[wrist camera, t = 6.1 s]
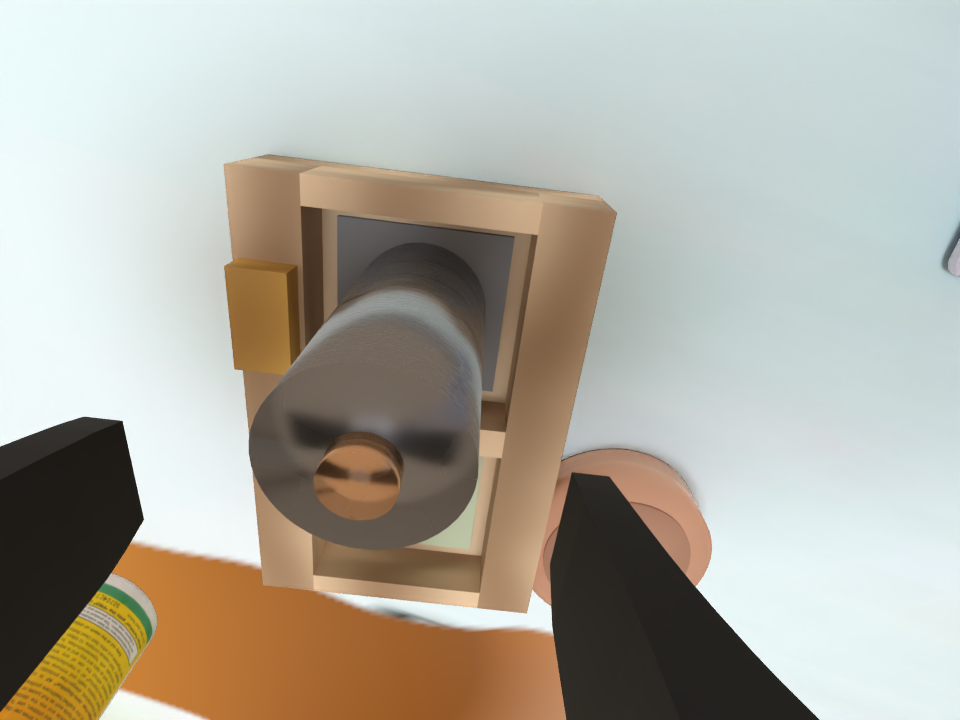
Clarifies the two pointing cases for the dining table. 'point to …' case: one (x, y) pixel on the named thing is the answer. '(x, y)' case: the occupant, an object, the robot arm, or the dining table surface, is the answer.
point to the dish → (636, 509)
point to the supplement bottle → (89, 657)
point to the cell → (381, 407)
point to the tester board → (506, 354)
